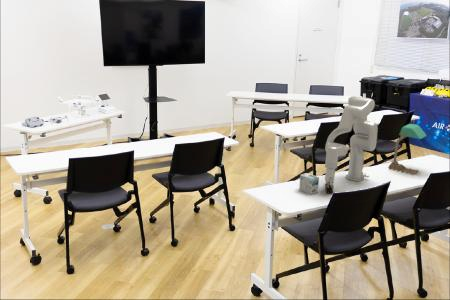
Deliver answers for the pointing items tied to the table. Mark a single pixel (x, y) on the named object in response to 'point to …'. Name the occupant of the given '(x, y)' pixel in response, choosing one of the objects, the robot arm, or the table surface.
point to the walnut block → (326, 188)
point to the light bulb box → (309, 183)
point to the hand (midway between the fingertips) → (328, 191)
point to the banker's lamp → (406, 131)
